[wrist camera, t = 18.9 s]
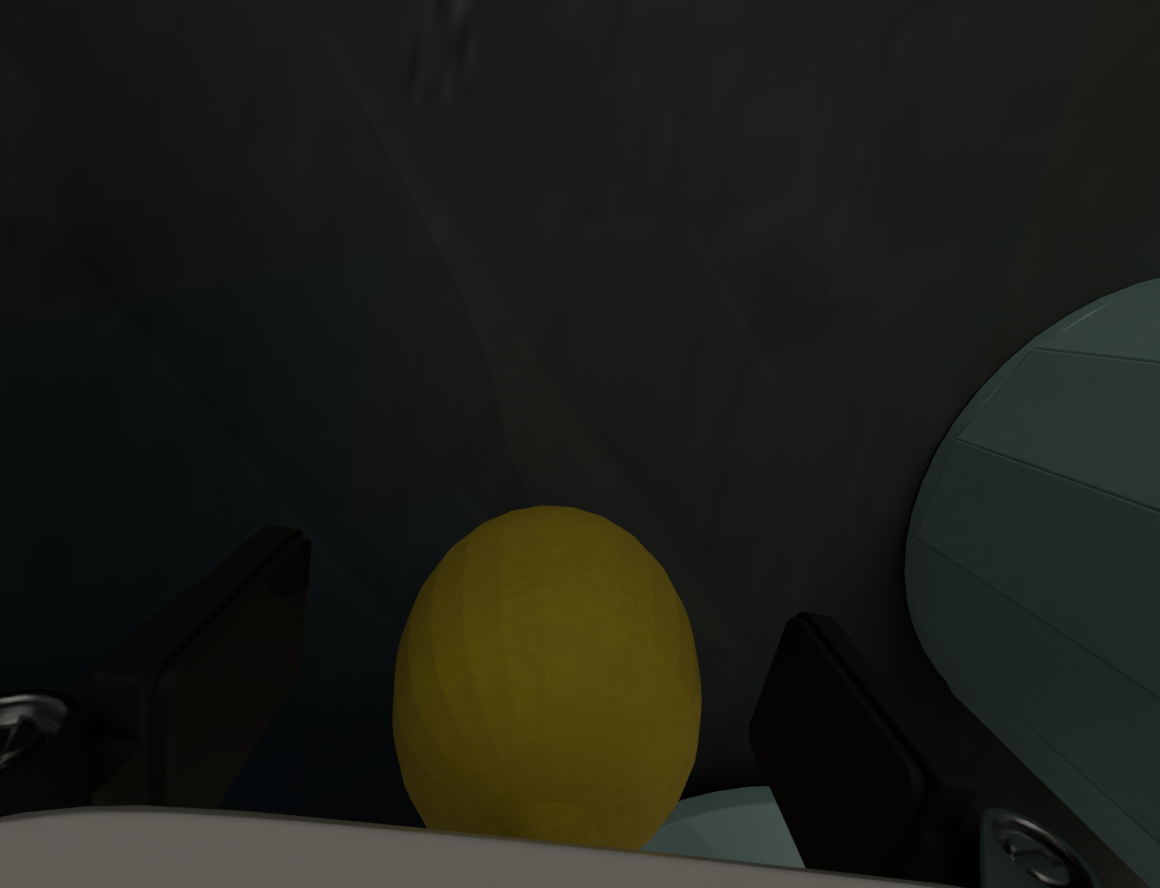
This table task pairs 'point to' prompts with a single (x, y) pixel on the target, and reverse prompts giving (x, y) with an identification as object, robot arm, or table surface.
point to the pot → (1057, 564)
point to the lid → (729, 828)
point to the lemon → (547, 685)
